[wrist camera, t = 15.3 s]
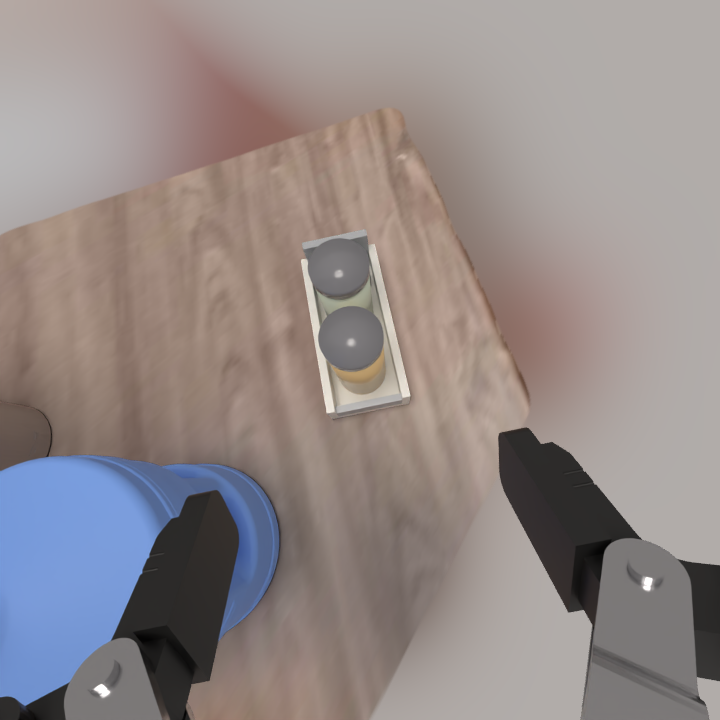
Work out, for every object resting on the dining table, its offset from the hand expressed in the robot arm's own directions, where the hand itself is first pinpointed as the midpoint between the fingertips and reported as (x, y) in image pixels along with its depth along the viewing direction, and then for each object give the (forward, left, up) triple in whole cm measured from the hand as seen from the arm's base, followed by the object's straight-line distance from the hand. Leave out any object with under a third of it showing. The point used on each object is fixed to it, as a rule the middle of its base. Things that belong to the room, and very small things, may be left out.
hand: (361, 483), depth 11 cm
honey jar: (-4, +11, -29) cm, 32 cm away
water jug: (-17, -9, -31) cm, 36 cm away
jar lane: (-5, +15, -30) cm, 34 cm away
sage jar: (-6, +17, -29) cm, 35 cm away
